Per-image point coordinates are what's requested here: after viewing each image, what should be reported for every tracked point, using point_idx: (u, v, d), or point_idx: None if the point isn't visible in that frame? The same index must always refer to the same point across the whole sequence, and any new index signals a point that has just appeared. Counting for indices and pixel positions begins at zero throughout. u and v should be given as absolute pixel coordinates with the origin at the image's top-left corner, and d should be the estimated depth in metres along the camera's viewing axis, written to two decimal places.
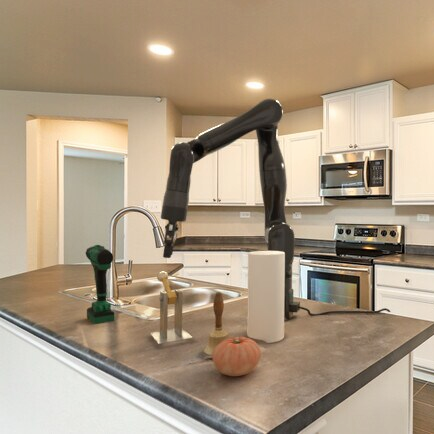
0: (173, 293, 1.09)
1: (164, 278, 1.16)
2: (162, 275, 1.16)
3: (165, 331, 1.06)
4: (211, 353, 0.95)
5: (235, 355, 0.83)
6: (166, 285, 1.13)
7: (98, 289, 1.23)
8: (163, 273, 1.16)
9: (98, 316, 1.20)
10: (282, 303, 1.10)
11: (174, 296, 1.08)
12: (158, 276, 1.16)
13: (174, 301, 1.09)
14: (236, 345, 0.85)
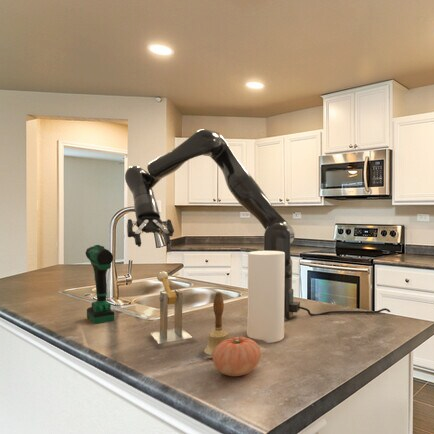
0: (173, 293, 1.09)
1: (164, 278, 1.16)
2: (162, 275, 1.16)
3: (165, 331, 1.06)
4: (211, 353, 0.95)
5: (235, 355, 0.83)
6: (166, 285, 1.13)
7: (98, 289, 1.23)
8: (163, 273, 1.16)
9: (98, 316, 1.20)
10: (282, 303, 1.10)
11: (174, 296, 1.08)
12: (158, 276, 1.16)
13: (174, 301, 1.09)
14: (236, 345, 0.85)
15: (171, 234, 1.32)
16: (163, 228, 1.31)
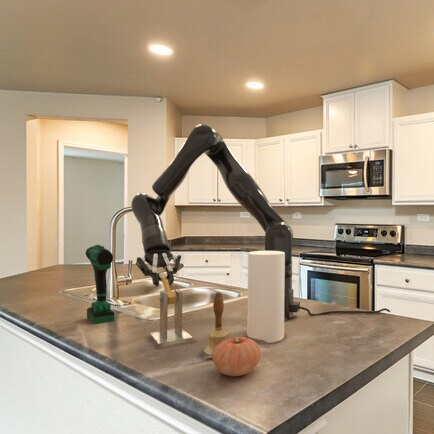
0: (173, 293, 1.09)
1: (164, 278, 1.16)
2: (162, 275, 1.16)
3: (165, 331, 1.06)
4: (211, 353, 0.95)
5: (235, 355, 0.83)
6: (166, 285, 1.13)
7: (98, 289, 1.23)
8: (163, 273, 1.16)
9: (98, 316, 1.20)
10: (282, 303, 1.10)
11: (174, 296, 1.08)
12: (158, 276, 1.16)
13: (174, 301, 1.09)
14: (236, 345, 0.85)
15: (175, 271, 1.20)
16: (168, 264, 1.19)
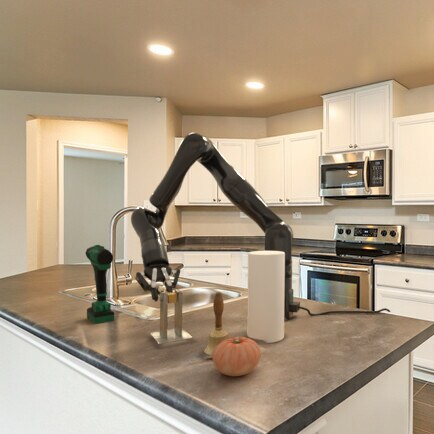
0: (173, 293, 1.10)
1: (163, 290, 1.16)
2: (161, 287, 1.17)
3: (165, 331, 1.06)
4: (211, 353, 0.95)
5: (235, 355, 0.83)
6: None
7: (98, 289, 1.23)
8: (162, 286, 1.18)
9: (98, 316, 1.20)
10: (282, 303, 1.10)
11: (174, 294, 1.09)
12: (157, 290, 1.17)
13: (174, 299, 1.08)
14: (236, 345, 0.85)
15: (174, 286, 1.21)
16: (168, 279, 1.20)
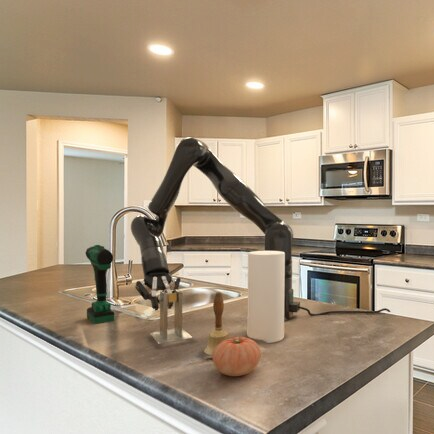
0: None
1: None
2: None
3: (165, 331, 1.06)
4: (211, 353, 0.95)
5: (235, 355, 0.83)
6: None
7: (98, 289, 1.23)
8: None
9: (98, 316, 1.20)
10: (282, 303, 1.10)
11: (173, 293, 1.09)
12: (157, 298, 1.17)
13: (174, 298, 1.08)
14: (236, 345, 0.85)
15: None
16: (168, 288, 1.20)
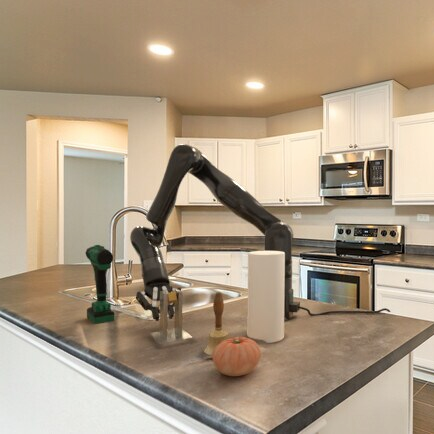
0: None
1: None
2: None
3: (165, 331, 1.06)
4: (211, 353, 0.95)
5: (235, 355, 0.83)
6: None
7: (98, 289, 1.23)
8: None
9: (98, 316, 1.20)
10: (282, 303, 1.10)
11: None
12: None
13: (174, 297, 1.08)
14: (236, 345, 0.85)
15: None
16: None
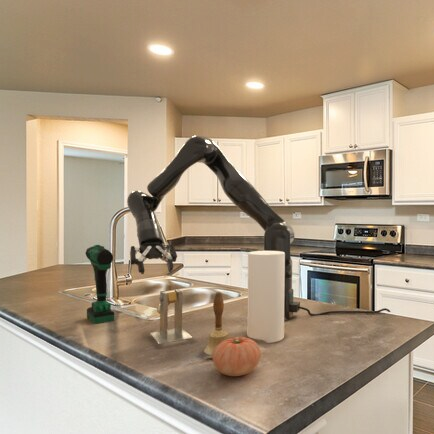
0: None
1: None
2: None
3: (165, 331, 1.06)
4: (211, 353, 0.95)
5: (235, 355, 0.83)
6: None
7: (98, 289, 1.23)
8: None
9: (98, 316, 1.20)
10: (282, 303, 1.10)
11: None
12: (158, 307, 1.16)
13: (174, 297, 1.08)
14: (236, 345, 0.85)
15: (174, 260, 1.32)
16: (166, 254, 1.30)
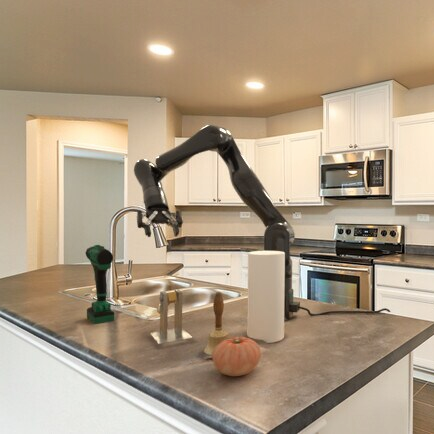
0: None
1: None
2: None
3: (165, 331, 1.06)
4: (211, 353, 0.95)
5: (235, 355, 0.83)
6: None
7: (98, 289, 1.23)
8: None
9: (98, 316, 1.20)
10: (282, 303, 1.10)
11: None
12: (158, 307, 1.16)
13: (174, 297, 1.08)
14: (236, 345, 0.85)
15: (180, 225, 1.34)
16: (172, 219, 1.32)
